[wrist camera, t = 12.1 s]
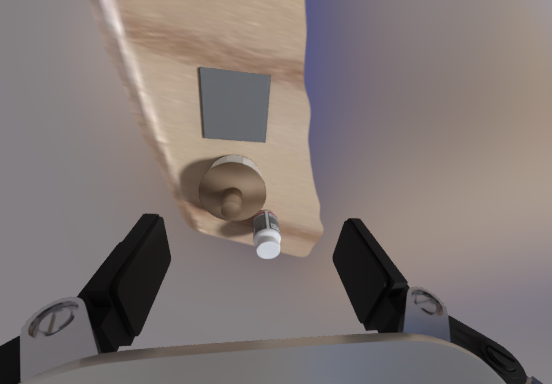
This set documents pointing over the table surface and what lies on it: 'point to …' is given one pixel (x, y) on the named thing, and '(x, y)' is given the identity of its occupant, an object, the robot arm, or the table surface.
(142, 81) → the table surface
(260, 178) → the lid
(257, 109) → the mat
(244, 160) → the bowl
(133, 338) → the robot arm
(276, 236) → the pill bottle
